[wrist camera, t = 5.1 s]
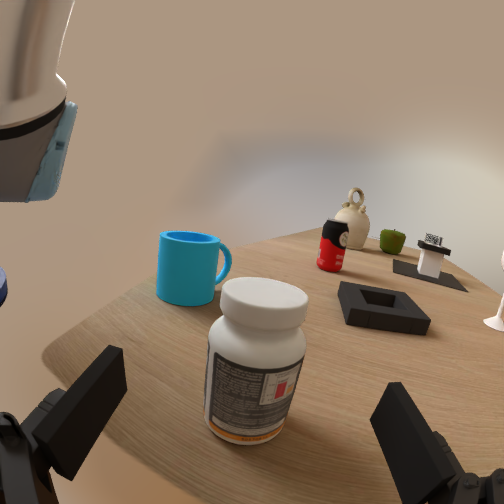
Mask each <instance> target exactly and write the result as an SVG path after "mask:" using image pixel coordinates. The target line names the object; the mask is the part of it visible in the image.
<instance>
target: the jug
mask: <svg viewBox="0 0 504 504" xmlns="http://www.w3.org/2000/svg"><path fill="white" fill-rule="evenodd" d="M355 191H357V192H358V193H359V195H360V200H359V202H358V203H355V202H354V201H353V193H354V192H355ZM348 199H349V202H350V203H349V202H345V203H343V204H342V207H343V208H344V209H342V210H340V211H339V212H338V213H337V215H336V217H335V220H340V221H344V222H348V228H349V234H348V239H347V244H346V248H349V249H353V250H362V247H363V245H364V243H365V241H366V238H367V235H368V232H369V228H370V222H369V218H368V216H367V215H366V214H365V213H364V212H365V208H366V207H365V206H362V207H360V205H362V204H363V201H364V194H363V192H362V190H360V189H359V188H353V189H352V190H350V192H349V195H348Z"/></svg>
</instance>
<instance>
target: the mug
mask: <svg viewBox="0 0 504 504" xmlns="http://www.w3.org/2000/svg"><path fill="white" fill-rule="evenodd" d="M219 248H220V249H221V250H222V251H223V253H224V256H225V263H224V267H223V269H222V271H221V272H220V274H219V275H218V276H217V277H216V272H217V264H218V255H219ZM231 264H232V256H231V254H230V251H229V249H228V248H227V247H226V246H225V245H224V244H222V243H220V239H219V238H217V237H215V236H212V235H208V234H203V233H198V232H189V231H165V232H162V233H160V240H159V253H158V270H157V295H158V297H159V298H160V299H162V300H164V301H166V302H168V303H171V304H175V305H181V306H199V305H204V304H207V303H209V302H211V301H212V300H213V297H214V289H215V285H217V284H218V283H220V282H221V281H222V280H223V279H224V278H225V277H226V276H227V274H228V273H229V271H230V268H231Z"/></svg>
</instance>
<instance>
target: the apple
mask: <svg viewBox="0 0 504 504" xmlns="http://www.w3.org/2000/svg"><path fill="white" fill-rule="evenodd" d="M405 239H406V236H405V234H403V233H400V232H398V231H395V229H394V231H393V230H386V229H384V230H382V231H381V234H380V248H381V249H382V250H383V251H384V252H387V253H390V254H395V255H396V254H398V253H400V252H401V250H402V247H403V244H404V242H405Z"/></svg>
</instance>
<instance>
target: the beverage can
mask: <svg viewBox="0 0 504 504" xmlns="http://www.w3.org/2000/svg"><path fill="white" fill-rule="evenodd" d="M348 234H349V228H348V222H344V221H340V220H335V219H327V222H326V223H325V224H324V226H323V232H322V237H321V242H320V248H319V253H318V258H317V265H318V266H319V268H320V269H322V270H325V271H329V272H337V271H338V270H340V269H341V268H342V264H343V259H344V254H345V249H346V244H347V239H348Z"/></svg>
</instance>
